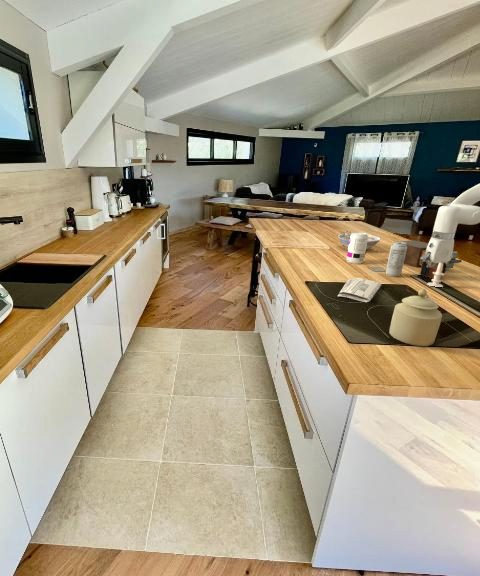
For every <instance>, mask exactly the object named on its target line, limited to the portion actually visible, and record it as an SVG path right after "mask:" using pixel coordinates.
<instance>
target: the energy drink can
mask: <svg viewBox="0 0 480 576" xmlns="http://www.w3.org/2000/svg"><path fill="white" fill-rule="evenodd" d="M406 244H407V243H405V242H400V241H393V243H392V244H391V246H390V249H389V255H388V259H387V264H386V269H385V273H386V276H388V277H392V278H399V277H400V276H401V275H402V272H403V268H404V260H405V255H406V251H407V245H406Z"/></svg>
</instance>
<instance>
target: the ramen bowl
mask: <svg viewBox="0 0 480 576" xmlns="http://www.w3.org/2000/svg"><path fill="white" fill-rule="evenodd" d="M351 234H352V231H351V230H350V231H348V230H346V232H345V233H341V234H338V235H337V237H338V240H339V242H340V243H341V244H342V246H343V247H346V248H348V246H349V240H350V235H351ZM367 235H368V241H367V246H366V250H368V249H371V248H372V247H373V248H374V247H375V246H376V245H377V244H378V243H379V242H380V241H381V238H380V236H376V235H372V234H367Z"/></svg>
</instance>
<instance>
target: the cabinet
mask: <svg viewBox="0 0 480 576" xmlns="http://www.w3.org/2000/svg"><path fill="white" fill-rule="evenodd" d="M399 242H405V243H407V244H406V245H407V251H406V255H405V260H404V264H405V265H407V266H410V267H413V268H414V267H415V268H420V267H421V268H422V266H421V265H418V262H419V258H420V254H421V250H422V249H427V246H428V244H429V242H424V241H420V240H415V239H413V240H402V241H401V240H400V241H399ZM404 264H403V265H404Z"/></svg>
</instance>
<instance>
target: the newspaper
mask: <svg viewBox="0 0 480 576" xmlns="http://www.w3.org/2000/svg"><path fill="white" fill-rule="evenodd" d="M381 287H382V283H380V282H377V281H374V280H371V279H367V278H362V277H354V278H348V280H347V281H346V283H344V285H343V287H342V288H341V289H340V291H339V293H338V295H337V297H343V298H347V299H348V298H349V299H351V300H355V301H359V302H363V303H370V302H371V301H372V300H373V298H374V297H375V295H376V294H377V292H378V291H379V290H380V288H381Z"/></svg>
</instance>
